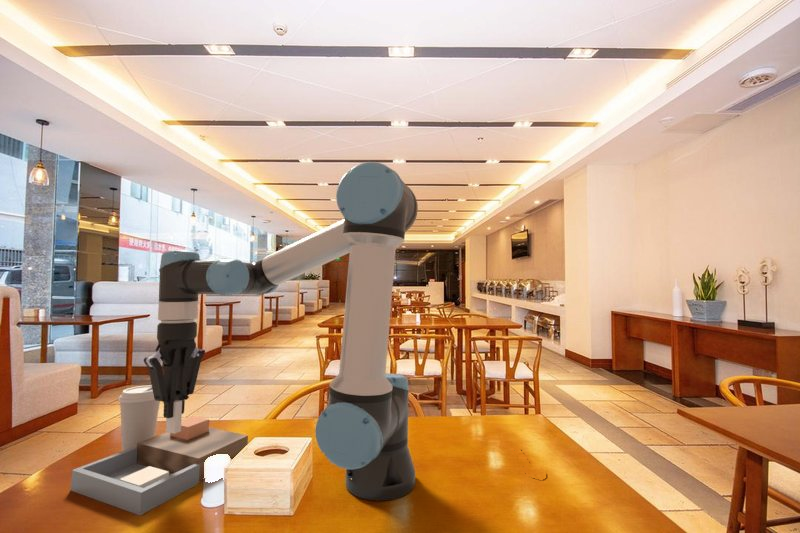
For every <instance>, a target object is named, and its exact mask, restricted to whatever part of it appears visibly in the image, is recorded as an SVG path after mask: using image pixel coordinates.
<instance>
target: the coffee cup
mask: <svg viewBox="0 0 800 533" xmlns="http://www.w3.org/2000/svg"><path fill="white" fill-rule="evenodd" d="M117 401H118V402H119V406H120V408H119V409H120V428H121V430H120V431H121V452H122V451H125V450H128V449H130V448H133V447H135V448H137V443H138V442H141V441H144V440H146V439H149V438H152V437H155V436H156V430H157V422H158V417H159V410H160V402H161V401H156V400H155V399H154V394H153V389H152V384H149V385H139V386H131V387H127V388H125V389H123V390H122V392H121V394H120V395H119V397H118V399H117Z"/></svg>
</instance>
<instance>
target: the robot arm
mask: <svg viewBox="0 0 800 533" xmlns="http://www.w3.org/2000/svg"><path fill="white" fill-rule="evenodd" d="M335 199H336V205H337V207H338V210H339V211H340V214H342V216H343V219H341V220H339V221H337V222H336V223H333V224H330V225H329V226H327V227H325V228H322V229H320V230H319V231H317V232H315V233H312V234H311V235H308V236H306V237H304V238H302V239H300V240H298V241H296V242H293V243H292V244H289V245H287V246H285V247H283V248H282V249H280V250H277V251H275V252H272V253H270V254H269V255H267V256H264V257H262V258H261V259H258V260H256V261H254V262H244V261H241V260H240V259H235V258H233V259H232V258H218V259H217V258H216V259H200V254H199V253H198V252H195V251H189V250H166V251H164V252H163V253H162V254H161V257H160V265H159V269H158V271H159V284H158V285H159V286H158V308H157V313H158V314H157V320H158V321H159V323H158V324H157V325H156V326H157V327H156V339H157V342H158V344H157V346H156V348H155V352H154V353H153V354H152V355H150V356H146V357H144V358H143V363H144V364H145V365H146V367H147V369H148V373H149V379H150V383H151V384H150V385H152V389H153V394H154V399H155V400H156V401H160V402H163V418H165V433H166V432H169V433H174V434H175V433H178V432H180V431H181V420H182V415H183V414H184V413H185V404H186V402H185V401H186V400H188V399H189V398H190V395H192V394H194V392H195V387H196V384H197V379H198V374H199V372H200V368H201V362H202V359H203V358H204V357H205V355H206V350H205V349H200V348H199V347H197V343H196V340H195V339H196V338H197V337H198V333H197V332H198V323H197V322H196V321H195V320H198V316H199V315H198V314H199V312H198V311H199V302H198V301H199V295H221V296H225V295H226V296H230V295H231V296H232V295H257V296H263V295H268V294H271V293H274V292H275V291H276V290H277V288H278V287H279V285H281V284H283V283H287V282H288V281H290V280H292V279H294V278H297V277H299V276H301V275H303V274H305V273H308V272H310V271H313V270H314V269H316V268H319V267H321V266H323V265H326V264H328V263H330V262H333V261H334V260H335V261H336V260H337V259H338V258H341V257H343V256H346V255H347V254H349V256H348V267H347V280H346V288H345V289H346V292H345V301H344V303H345V304H344V314H343V315H344V316H343V326H342V337H341V347H340V358H339V359H340V360H339V370H338V374H337V375H336V376H335V377H334V378H332V380H331V381H329V382H330V383H329V390H328V401H327V406H326V407H325V408H324V409H323V410H322V411H321V413H320V415H319V416H318V418H317V421H316V424H315V433H314V434H315V440H316V443H317V446H318V448H319V450H320V451H321V453H323V454H324V456H325V457H326V459H327V460H328V461H329V462H330V463H331V464H333V465H334V466H336V467H339V468H340V469H344V470H345V476H344V477H345V478H344V479H345V480H344V485H345V487H346V489H347V491H348V492H349V493H351V494H352V495H354V496H356V497H358V498H360V499H364V500H368V501H379V500H383V501H391V499H392V500H395V499H399V498H401V496H402V497H404V496H406V495H407V493H408V492H409V493H410V492H412V490H413V489H414V488H415V486H416V470H415V466H414V463H413V459H412V456H411V452H410V449H409V446H408V445H409V442H408V440H409V438H408V436H409V393H410V388H409V380H408V378H407V377H406V376H404V375H402V374H397V373H389V372H387V359H388V350H389V349H388V346H389V334H390V322H391V312H392V311H391V310H392V297H393V286H394V275H395V274H394V273H395V262H396V261H395V259H396V250H397V248H398V247H400V246H401V245H402V244H403V243H404V242H405V237H406V236H405V235H406V234H405V233H406V232H408V231H409V230H410V229H411V227H412V226H413V225H414V223H415V222H416V220H417V216H418V211H419V208H418V206H419V205H418V201H417V198H416V196H415V193H414V192H413V190H412V189H411V188H410V187H409V186H408V185H407V184H406V183H405V182H404V180H402V178H401V176H400V175H399V174H398V173H397V172H396V171H395V170H394V169H392V168H390V167H389V166H387V165H386V164H384V163H381V162H378V161H366V162H362V163H359V164H357V165H355V166H353V167H352V168H350V169H349V170H348V171H347V172H346V173H344V175H343V176H342V178H341V179H340V181H339V183H338V186H337V188H336V194H335ZM414 485H415V486H414ZM413 487H414V488H413ZM409 493H408V494H409ZM405 494H406V495H405ZM403 495H404V496H403Z"/></svg>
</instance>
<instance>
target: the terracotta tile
mask: <svg viewBox="0 0 800 533" xmlns="http://www.w3.org/2000/svg"><path fill="white" fill-rule="evenodd" d="M209 427H210V418H206V417H200V416H195V415H192V416H189V417H186V418H181V431H180V432H178V433H175V434H174V433H170V436H173V437H177V438H182V439H186V440H188V439H191V438H193V437H196V436H198V435H201V434H203V433H206V432H208V431H209Z"/></svg>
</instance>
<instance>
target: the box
mask: <svg viewBox="0 0 800 533" xmlns="http://www.w3.org/2000/svg"><path fill="white" fill-rule="evenodd" d="M146 467H147V466H143V465H140V464H137V448H135V447H133V448H130V449H128V450H125V451H122V450H121V451H120V452H117V453H114V454H112V455H108V456H106V457H104V458H100V459H98V460H96V461H93V462H91V463H87V464H85V465H81V466H80V467H77V468H74V469H72V470H71V480H70V491H71V492H75V493H77V494H79V495H82V496H86V498H91V499H93V500H96V501H98V502H102V503H105V504H106V505H110V506H113V507H115V508H118V509H121V510H123V511H126V512H129V513H131V514H134V515H137V516H142V515H143V514H145V513H148V512H149V511H151V510H153V509H154V508H156V507H159V506H161V505H162V504H164V503H166V502H168V501H169V500H172V499H173V498H175V497H177V496H179V495H180V494H182V493H184V492H186V491H188V490H189V489H191V488H192V489H193V488H194V487H195V486H197V485H199V483H200V482H199V468H200V464H197V463H195V464H193V465H191V466H189V467H187V468H185V469H182V470H180V471H178V472H176V473H174V474H171V473H169V476H168V477H166V478H164V479H161V480H159V481H157V482H155V483H153V484H151V485H149V486H147V487H145V488H142V487H139V486H135V485H132V484H129V483H126V482H123V481H120V480H119V479H121V478H123V477H125V476H128V475H130V474H132V473H135V472H137V471H139V470H142V469H144V468H146Z"/></svg>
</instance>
